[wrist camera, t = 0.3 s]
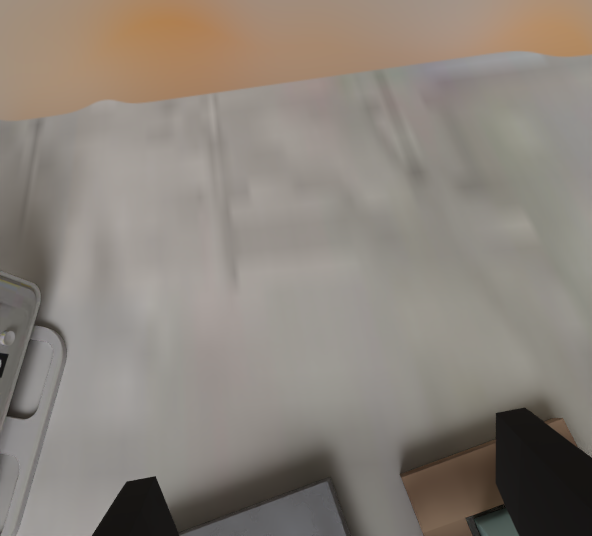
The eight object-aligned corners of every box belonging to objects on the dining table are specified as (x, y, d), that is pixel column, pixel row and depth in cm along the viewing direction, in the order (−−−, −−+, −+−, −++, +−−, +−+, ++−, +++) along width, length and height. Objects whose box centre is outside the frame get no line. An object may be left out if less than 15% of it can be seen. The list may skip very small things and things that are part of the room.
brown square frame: (644, 597, 32) (661, 609, 30) (471, 657, 32) (477, 673, 31) (552, 418, 36) (563, 418, 34) (399, 474, 36) (401, 477, 34)
